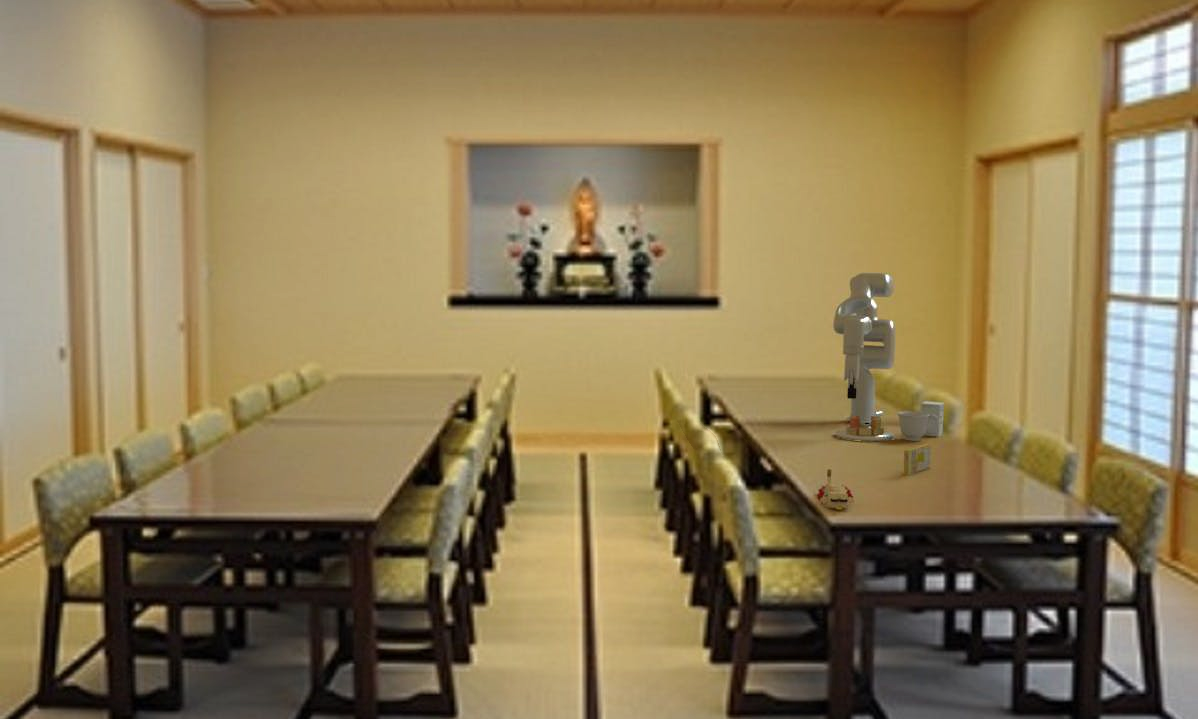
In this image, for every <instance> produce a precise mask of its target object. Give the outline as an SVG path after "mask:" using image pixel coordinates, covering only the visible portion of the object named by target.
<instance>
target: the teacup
mask: <svg viewBox="0 0 1198 719" xmlns="http://www.w3.org/2000/svg"><path fill="white" fill-rule="evenodd" d="M897 415H898V418H899V420H898V421H899V429H900V434H902V435H903V437H904V440H905V441H908V440H909V442H910V441H911V442H918V441H919V442H920V441H921V438H922V437H923V436H925V435H924V434H925V432H926V430H927V429H928V428H930V427H933V426H935V425H936V424H937V423H938V418H937V416H936V415H931V416H930V414H929V413H924V412H921V411H912V410H911V411H910V410H909V411H908V410H905V411H898V412H897ZM929 416H930V419H929ZM932 417H934V418H935V419H936V421H935V423H934V424H932V425H929V426H928V427H927V428H926V426H927V421H928V420H931V418H932Z"/></svg>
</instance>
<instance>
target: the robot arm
mask: <svg viewBox="0 0 1198 719" xmlns="http://www.w3.org/2000/svg"><path fill="white" fill-rule="evenodd" d="M849 288H850V296H849V297H848V298H847V299H845V300H843V302H841V303H840V304H839V305H838V306H837V307H836V310H835V313H834V318H833V323H832V324H833V330H834V332H835V333H836V334H838V335H843V338H842V340H843V343H842V344H843V345H842V354H843V355H844V356H845V357H844V358H845V359H844V375H843V377H844V378H843V380H844V381H847V382H848V383H847V397H846V398H847V399H850V415H858V416H860V424H865V423H869V424H871V416H881V417H882V416H883V415H884V414H883V411H877V410H876V409H875V407H876V406H875V405H876V404H875V402H876V378H875V375H874V374H873V373H872V371H871V370H872V369H873V370H874V369H875V370H890V369H891V368H893V366H894V364H895V351H896V350H895V349H896V327H895V323H894V321H893V320H891V319H887V318H886V319H885V318H882V319H881V318H878V305H877V303H876V302H875V300H874V299H873V298H874V297H875V298H889V297H891V296H892V295H893V292H894V288H895V286H894V280H893V278H892V276H890V275H889V274H887V273H882V272H881V273H880V272H879V273H878V272H877V273H876V272H861V273H858V274H857V275H854V276H853V277H851V278H850V281H849ZM864 342H866V343H867V342H868V343H882V344H883V345H875V344H874V345H871V344H869V345H868V344H864ZM848 421H850V416H849V417H846V422H848Z"/></svg>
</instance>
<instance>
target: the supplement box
mask: <svg viewBox="0 0 1198 719" xmlns="http://www.w3.org/2000/svg"><path fill="white" fill-rule="evenodd" d="M944 407H945V402H937V401H927V400H926V401H923V402H922V403H921V408H920V412H924V413H929V414H930V416H931V415H936V416H937V418H938V423H937V424H936V425H935V426H933V427H930V428H928V429H927V430H926V432H925V434H924V435H923V436H925V437H926V436H927V437H935V436H936V437H937V438H939V437H941V436H942V435H943V426H944V410H945V409H944ZM930 416H929V419H930ZM935 421H936V419H935V418H934V417H932V418H931V420H928V421H927V426H926V428H927V427H928V426H929V425H932V424H934V423H935Z"/></svg>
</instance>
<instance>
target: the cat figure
mask: <svg viewBox="0 0 1198 719" xmlns="http://www.w3.org/2000/svg"><path fill="white" fill-rule="evenodd" d="M826 477H827V478H826V481H827V484H825V485H824V484H821V485H820V488H818V494H817V495H816V498H817V499H818V502H820V503H822V504H824V505H825V507H828V508H831V509H835V510H841V511H842V510H843V509H847V508H850V505H851V504H854V503H855V499H854V496H853V494H852V493H851V489H850V488H848V486H845V485H844V484H841V486H842V487H844V490H846V492H844V491H841V490H840V488H839V487H838V486H837V485H836V484H835V483H832V469H831V468H830V469H827V472H826ZM824 495H827V496H824ZM826 503H827V504H826ZM849 504H850V505H849Z"/></svg>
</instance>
